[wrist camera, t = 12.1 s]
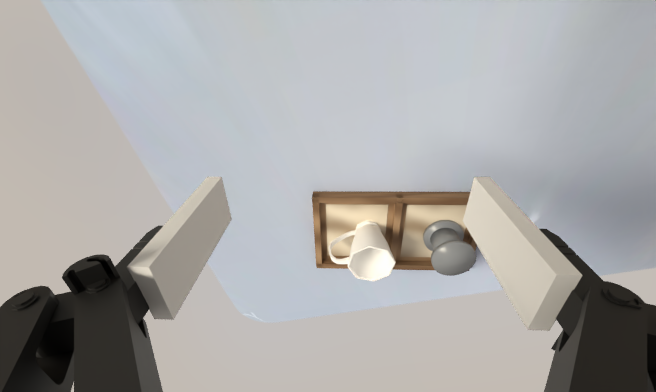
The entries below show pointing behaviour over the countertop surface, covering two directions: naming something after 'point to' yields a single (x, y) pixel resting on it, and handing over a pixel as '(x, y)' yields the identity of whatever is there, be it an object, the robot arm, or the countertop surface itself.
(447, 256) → the doorknob
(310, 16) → the countertop surface
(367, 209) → the slot tray
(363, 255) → the cup
